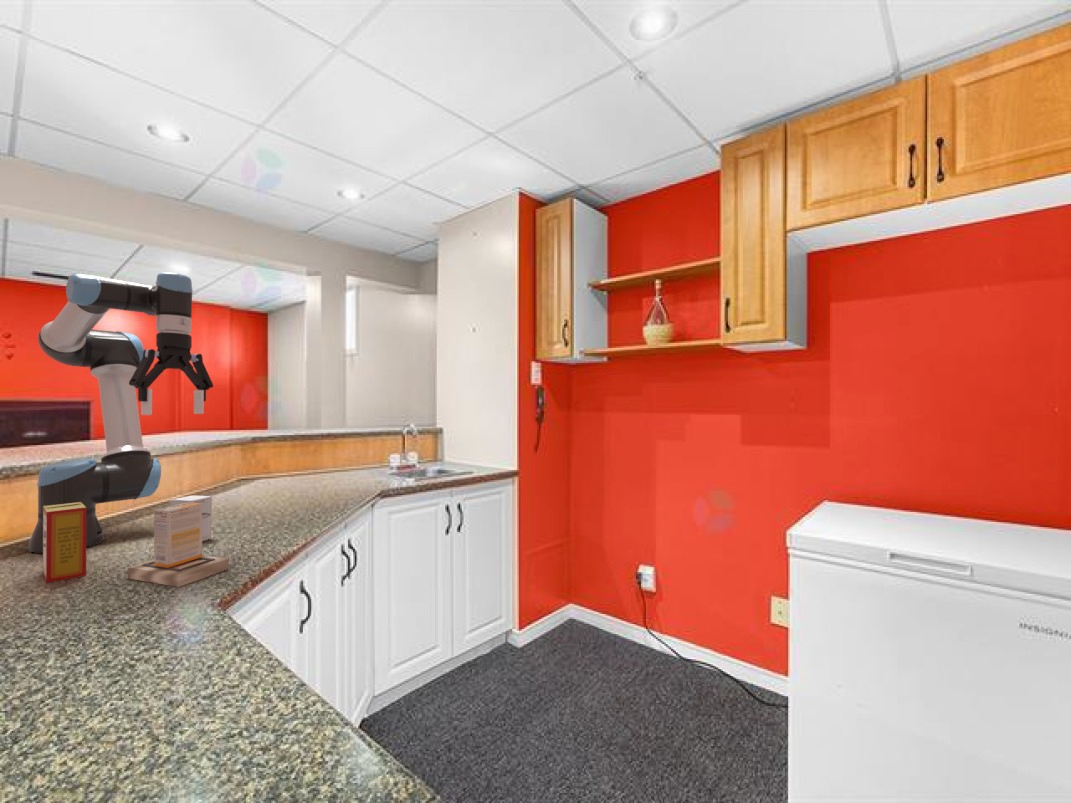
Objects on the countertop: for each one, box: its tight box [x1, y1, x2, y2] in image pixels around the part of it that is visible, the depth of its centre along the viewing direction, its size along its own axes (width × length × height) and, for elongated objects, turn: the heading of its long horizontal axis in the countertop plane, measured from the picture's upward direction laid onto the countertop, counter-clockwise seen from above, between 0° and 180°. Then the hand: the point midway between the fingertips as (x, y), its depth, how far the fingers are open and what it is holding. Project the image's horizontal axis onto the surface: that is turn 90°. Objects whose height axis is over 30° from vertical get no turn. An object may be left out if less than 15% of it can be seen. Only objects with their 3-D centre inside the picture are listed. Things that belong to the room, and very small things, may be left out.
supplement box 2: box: [153, 502, 203, 568], centre depth 116 cm, size 8×5×13 cm, turn 161°
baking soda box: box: [42, 502, 87, 584], centre depth 115 cm, size 10×6×16 cm
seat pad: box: [127, 554, 229, 588], centre depth 116 cm, size 16×12×3 cm
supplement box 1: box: [168, 495, 213, 542], centre depth 142 cm, size 7×7×13 cm
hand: (173, 414), depth 130 cm, fingers open, 13 cm apart
